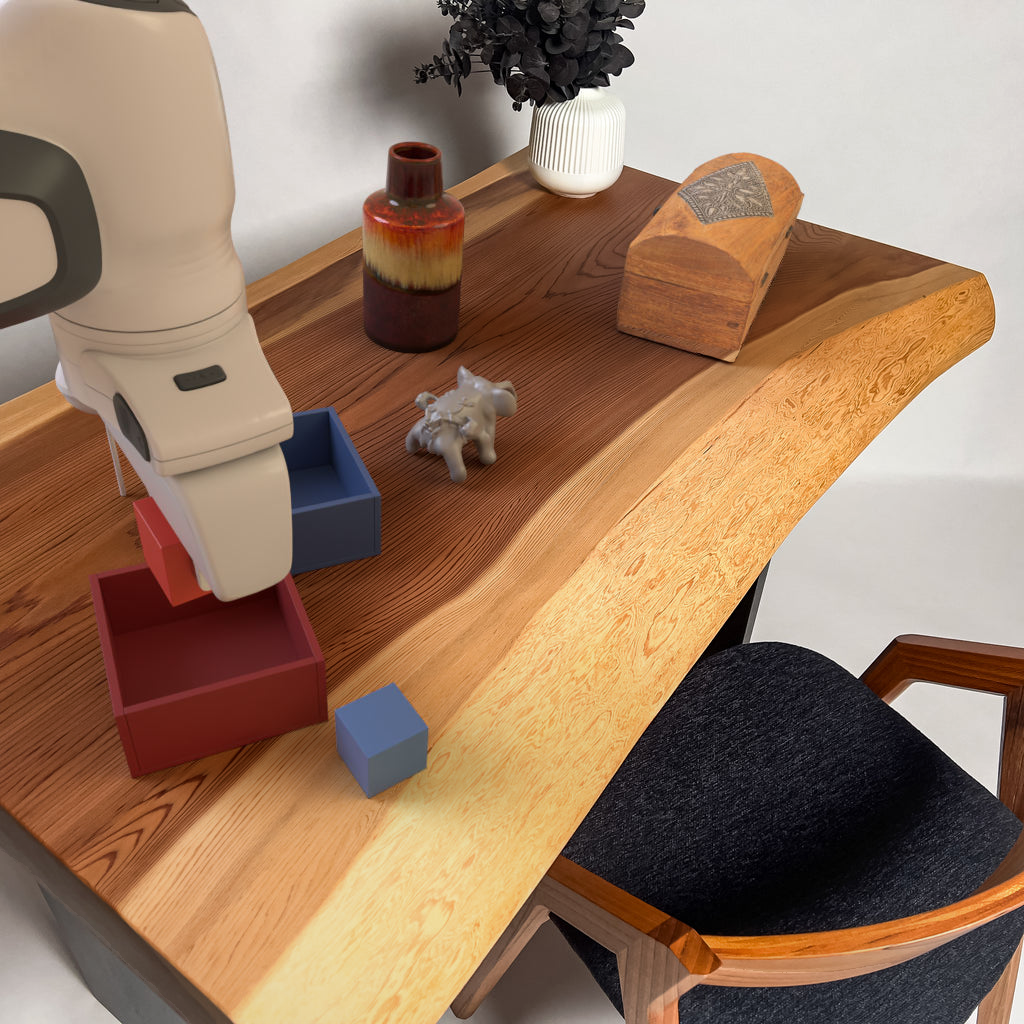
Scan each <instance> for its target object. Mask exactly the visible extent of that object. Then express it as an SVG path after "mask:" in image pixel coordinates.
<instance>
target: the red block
mask: <svg viewBox="0 0 1024 1024" xmlns="http://www.w3.org/2000/svg"><path fill="white" fill-rule="evenodd" d="M132 506H133V511H134V515H135V521H136V525H137V530H138V535H139V539H140V543H141V547H142V553H143V557H144V561H145V563H146V562H147V564H148V566H149V567H150V569H151V571H152V572H153V574H154V576H155V577H156V579H157V581H158V583H159V584H160V586H161V588H162V589H163V591H164V593H165V594H166V596H167V598H168V599H169V601H170V603H171V604H172V606H173V607H175V606H177V605H180V604H183V603H185V602H188V601H191V600H193V599H196V598H199V597H201V596H204V595H207V594H209V593H212V592H213V591H212V590H210V591H203V590H202V589H201V588H200V586H199V584H198V583H197V581H196V579H195V578H194V576H193V574H192V572H191V566H190V561H189V553H188V552H187V550H186V549H185V547H184V546H183V544H182V543H181V541H180V540H179V538H178V536H177V535H176V533H175V532H174V530H173V529H172V527H171V526H170V524H169V522H168V521H167V519H166V518H165V516H164V515H163V513H162V512H161V510H160V509H159V507H158V505H157V504H156V502H155V501H154V499H153V498H152V496H150V495H149V496H147V497H145V498H141V499H138V500H135V501H133V502H132Z"/></svg>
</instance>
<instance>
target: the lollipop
mask: <svg viewBox="0 0 1024 1024" xmlns="http://www.w3.org/2000/svg"><path fill="white" fill-rule="evenodd" d="M54 378H55V385H56V388H57V389H58V391H59V392H60V394H61V395H62V396H63V397H64V399H65V400H66V401H67V403H69V404H70V405H71V406H72V407H74V408H75V409H77V410H79V411H81V412H83V413H86V414H91V415H99V414H98V413H97V411H96V410H94V409H92V408H90V407H88V406H86V405H85V404H83V403H81V402H80V401H79V400H78V399H76V398H75V397H74V396H73V395H72V394H71V392H70V391H69V389H68V387H67V385H66V383H65V379H64V375H63V371H62V367H61V363H60V361H58V364H57V367H56V370H55V373H54ZM99 416H100V415H99ZM104 426H105V431H106V435H107V439H108V443H109V449H110V453H111V457H112V461H113V462H112V463H113V466H114V470H115V474H116V479H117V483H118V484H117V485H118V488H119V492H120V496H121V497H126V496H127V490H126V485H125V480H124V477H123V472H122V467H121V464H120V463H121V462H120V459H119V454H118V449H117V445H116V440H115V439H114V437H113V436H112V434H111V433H110V431H109V429H108V428H107V426H106V425H105V424H104Z"/></svg>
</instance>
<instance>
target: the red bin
mask: <svg viewBox="0 0 1024 1024" xmlns="http://www.w3.org/2000/svg"><path fill="white" fill-rule="evenodd" d="M87 578H88V582H89V588H90V592H91V598H92V604H93V609H94V615H95V620H96V625H97V631H98V636H99V641H100V646H101V652H102V657H103V658H102V659H103V663H104V668H105V669H104V670H105V673H106V679H107V684H108V690H109V696H110V701H111V706H112V707H111V708H112V711H113V717H114V721H115V725H116V728H117V731H118V735H119V738H120V743H121V746H122V750H123V752H124V755H125V760H126V763H127V767H128V770H129V773H130V777H131V779H137V778H139V777H143V776H145V775H149V774H153V773H156V772H159V771H162V770H166V769H169V768H172V767H176V766H179V765H183V764H186V763H189V762H193V761H197V760H200V759H203V758H207V757H210V756H213V755H217V754H220V753H224V752H227V751H230V750H234V749H237V748H241V747H243V746H247V745H250V744H254V743H257V742H261V741H264V740H267V739H270V738H274V737H277V736H281V735H284V734H288V733H291V732H294V731H297V730H301V729H304V728H308V727H311V726H314V725H317V724H321V723H324V722H327V721H329V706H328V688H327V685H328V684H327V669H326V668H327V667H326V659H325V656H324V654H323V651H322V648H321V646H320V643H319V641H318V639H317V636H316V633H315V631H314V629H313V626H312V624H311V621H310V618H309V615H308V614H307V611H306V608H305V606H304V603H303V601H302V599H301V596H300V593H299V590H298V588H297V585H296V583H295V580H294V578H293V575H291V573H290V571H289V573H288V574H287V576H286V577H285V578H284V579H283V580H281V581H280V582H278V583H277V584H275V585H273V586H271V587H268V588H266V589H264V590H261V591H259V592H257V593H254V594H251V595H248V596H245V597H242V598H239V599H236V600H232V601H227V602H225V601H221V600H219V599H218V598H217V597H216V596H215V594H214V593H213V592H212V593H209V594H207V595H204V596H201V597H199V598H196V599H193V600H191V601H188V602H185V603H183V604H180V605H177V606H175V607H173V606H172V604H171V603H170V601H169V599H168V598H167V596H166V594H165V593H164V591H163V589H162V588H161V586H160V584H159V583H158V581H157V579H156V577H155V576H154V574H153V572H152V571H151V569H150V567H149V566H148V564H147V562H146V561H145V562H142V563H137V564H133V565H128V566H123V567H120V568H115V569H109V570H105V571H100V572H96V573H91V574H88V576H87Z"/></svg>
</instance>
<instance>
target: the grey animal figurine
mask: <svg viewBox="0 0 1024 1024" xmlns="http://www.w3.org/2000/svg"><path fill="white" fill-rule="evenodd" d="M456 382H457V388H456V389H450V390H449V391H445V393H444V394H442V395H441V396H440V397H437V396H436V395H434V394H432V393H430V392H429V391H423V392H421V393H419V394H418V395H417V396H416V398H415V400H414V405H415V406H416V407H417V408H419V409H420V410H422V411H424V417H422V418H420V419H419V420H418V421H417V422H416V423H415V424H414V425H413V426H412V427H411V429H410V430H409V431H408V433H407V435H406V437H405V448H406V451H407V452H408V453H409V454H412V455H413V454H415V453H417V452H418V451H419V450H420V448H421V449H425V448H427V451H428V453H430V454H432V455H435V454H436V456H442V457H443V458H444V460H445V462H446V465H447V467H448V470H449V477H450V479H451V481H452V482H453V483H456V484H462V483H463V482H464V481H466V479H467V477H468V472H467V469H466V465H465V463H464V460H463V459H464V458H463V454H462V451H463V446H465V445H466V444H468V441H472V442H473V445H474V447H475V449H476V451H477V453H478V457H479V460H480V462H481V463H482V464H483V465H486V466H491V465H493V464H494V463H496V461H497V453H496V451H495V439H496V426H497V416H499V417H504V418H510V417H513V416H514V415H515V414H516V412H517V411H518V404H517V402H518V395H517V394H518V393H516V390H515V386H514V385H513V384H512V383H513V382H511V380H504V381H500V382H495V383H494V382H492V381H489V380H488V379H486V378H485V377H482V376H481V375H475V374H473V373H472V372H471V371H470V370H469V369H467V368H465V367H464V366H463V365H461V366H459V368H458V371H457V374H456ZM430 400H433V401H434V402H433V403H430V404H429V401H430Z"/></svg>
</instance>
